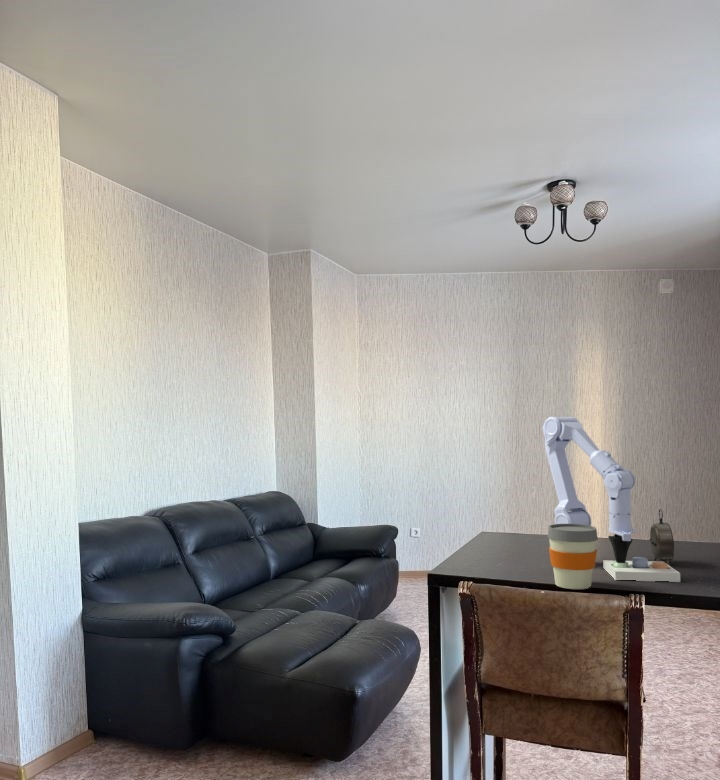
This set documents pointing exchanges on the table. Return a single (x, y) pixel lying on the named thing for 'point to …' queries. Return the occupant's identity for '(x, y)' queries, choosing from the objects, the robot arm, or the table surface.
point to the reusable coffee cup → (572, 554)
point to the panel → (641, 572)
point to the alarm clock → (662, 541)
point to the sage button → (620, 565)
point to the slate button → (639, 562)
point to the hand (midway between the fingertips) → (620, 562)
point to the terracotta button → (659, 565)
